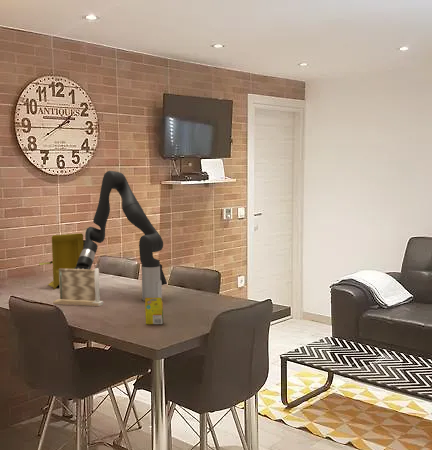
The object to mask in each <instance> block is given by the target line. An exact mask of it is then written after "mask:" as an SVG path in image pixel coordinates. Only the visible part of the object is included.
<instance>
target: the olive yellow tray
mask: <svg viewBox="0 0 432 450" xmlns="http://www.w3.org/2000/svg"><path fill="white" fill-rule="evenodd" d="M84 244H85V239H84V234H83V233H82V232H80V233H67V234H56V235H54V234H53V235H51V251H52V252H51V254H52V255H51V256H52V258H51V259H52V260H51V261H47V262H39V263H38V265H39V266H43V265H51V264H52V278H53V279H52V281H50V283H47V286H49V287H51V288H52V289H53V290H56V289H57V287H58V286H59V268H63V269H74V268H75V267H76V264H77V262H78V259H79V256H80V254H81V252H82V250H83V247H84ZM93 264H94V266H96V263H95V262H93ZM93 270H94V272H95V269H93Z"/></svg>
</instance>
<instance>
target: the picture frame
mask: <svg viewBox="0 0 432 450" xmlns="http://www.w3.org/2000/svg"><path fill="white" fill-rule="evenodd" d="M94 270H95V271H94V277H95V301H85V300H65V299H60V298H57V299H56V300H53V301H52V305H66V306H69V305H70V306H88V307H90V306H91V307H100V306H102V305H104V300H101V299H100V298H101V296H100V269H99V268H98V267H94Z"/></svg>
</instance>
